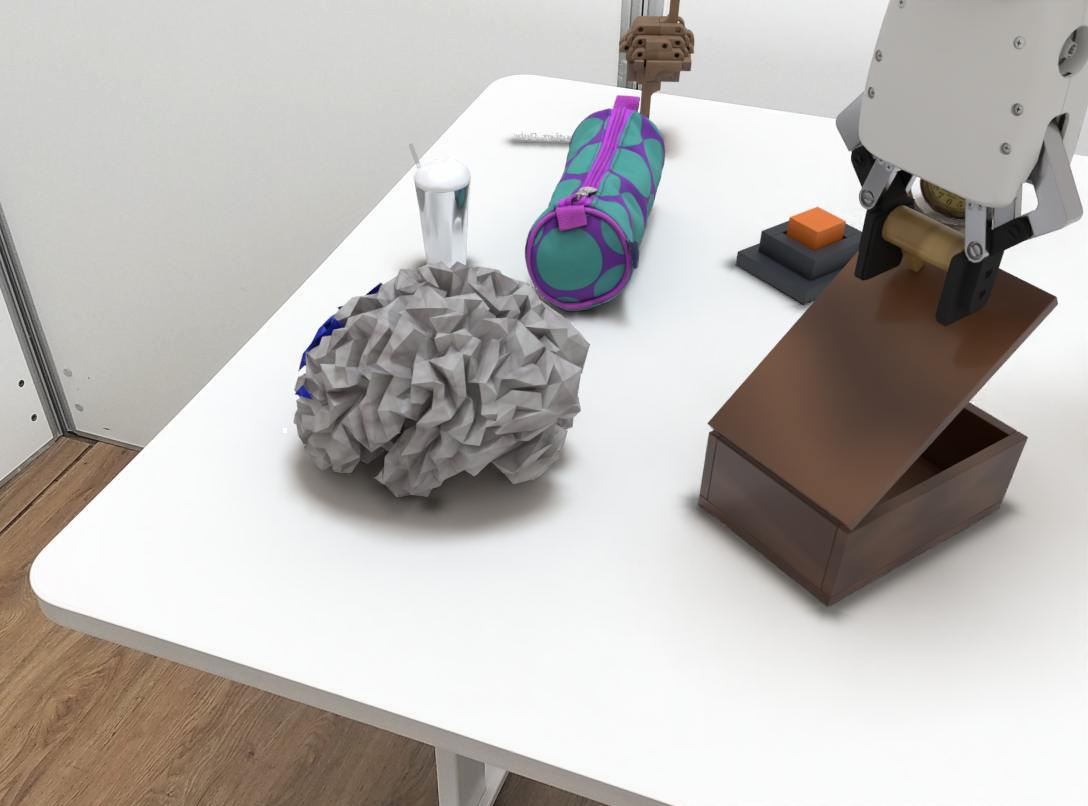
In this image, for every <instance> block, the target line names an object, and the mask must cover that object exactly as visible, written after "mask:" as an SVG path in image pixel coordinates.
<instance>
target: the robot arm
mask: <svg viewBox="0 0 1088 806" xmlns="http://www.w3.org/2000/svg"><path fill="white" fill-rule="evenodd" d="M1087 110H1088V0H889V1H888V4H887V7H886V10H885V13H884V16H883V19H882V21H881V26H880V29H879V33H878V37H877V39H876V42H875V46H874V49H873V54H872V57H871V61H870V65H869V68H868V72H867V77H866V81H865V86H864V90H863V91H862V92H861V93H860V94H859V95H858V96H857V97H856V98H855V99H854V100H853V101H852V102H851V103H849V104H848V105H847V106H846V107H845V108H844V109H843V110H842V111H841V112H839V114H838V115H837V116H836V118H835V126H836V129H837V131H838V133H839V135H840V137H841V139H842V141H843V143H844V145H845V147H846V149H847V151H848V152H851V154H850V162H851V165H852V168H853V170H854V172H855V175H856V177H857V180H858V182H859V185H860V187H861V188H860V190H859V192H858V202H859V204H860V205H861V207H862V208H863V209H865V210H866V211H865V216H864V221H863V225H862V230H861V232H862V234H861V239H860V243H859V249H858V250H859V254H858V258H857V263H856V268H855V272H854V276H855V277H857V278H858V279H860V280H862V281H864V280H868V279H871V278H873V277H875V276H877V275H880V274H882V273H884V272H886V271H889V270H891V269H893V268H895V267H897V266H899V265H900V263H901V261H902V258H903V253H902V251H901V248H899V247H897V246H895V245H893V244H891V243H890V242H888V241H886V240H884V239H883V237H882V227H883V224H884V222H885V220H886V218H887V217H888V215H889V214H890V213H891V212H892V211H893V210H894V209H895V208H896V207H898V206H901V205H905V206H907V207H909V208H911V209H913V210H914V209H915V206H914V202H916V198H914V197H913V198H911V197H909V196H907V193H908V192H909V191H910V189H911V190H912V187H913V185H914V184H915V181H916V180H917V178H918V179H920V178H921V179H923V180H925V181H927V182H930V183H932V184H934V185H936V186H938V187H941V188H943V189H945V190H947V191H949V192H952V193H954V194H956V195H958V196H960V197H963V198H965V220H964V225H965V247H964V250H965V251H962V252H960V253H958V254H956V255H954V256H953V257H952V259H951V261H950V265H949V268H948V272H947V275H946V279H945V283H944V286H943V290H942V293H941V297H940V300H939V304H938V308H937V311H936V315H935V318H937V319H936V321H937V322H938V323H940V324H942V325H944V326H948V325H950V324H952V323H954V322H956V321H958V320H960V319H962V318H964V317H966V316H968V315H971V314H973V313H975V312H977V311H978V310H980V309H981V308H983V307H984V306H985V304H986V303H987V302H988V300H989V298H990V295H991V292H992V289H993V285H994V282H995V279H996V276H997V273H998V270H999V268H1000V267H1001V266H1000V265H1001V263H1002V260H1003V257H1004V253H1005V251H1006V250H1009V249H1011V248H1013V247H1015V246H1017V245H1019V244H1021V243H1024V242H1027V241H1029V240H1032V239H1036V238H1038V237H1041V236H1044V235H1047V234H1050V233H1053V232H1056V231H1059V230H1062V229H1065V228H1066V227H1068V226H1071V225H1073V224H1075V223H1077V222H1079V221H1080V220H1081V219H1082V218H1083V215H1084V208H1083V204H1082V201H1081V197H1080V194H1079V191H1078V188H1077V184H1076V182H1075V177H1074V174H1073V171H1072V169H1071V168H1072V167H1071V163H1072V161H1073V158H1074V155H1075V152H1076V149H1077V145H1078V142H1079V138H1080V136H1081V132H1082V128H1083V125H1084V122H1085V121H1084V120H1085V117H1086V115H1087V114H1086V113H1087ZM1025 183H1026V184H1029V185H1031V186H1033V189H1034V192H1035V195H1036V199H1037V200H1036V201H1037V206H1036V208H1035V209H1033V210H1031V211H1028V212H1026V213H1024V214H1022V205H1023V204H1022V203H1023V202H1022V200H1023V184H1025ZM993 208H994V219H993V220H992V213H993Z"/></svg>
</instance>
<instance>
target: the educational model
mask: <svg viewBox="0 0 1088 806" xmlns="http://www.w3.org/2000/svg"><path fill="white" fill-rule="evenodd" d="M417 273H418V274H417ZM417 273H416V272H415V271H413V270H411V269H410V268H400V269H399V270H398V273H397V275H396V276H394V277H392V278H391V279H389V280H388V281H386V282H384V283H383V282H379V283H378V284H377V285H375V286H374V287H372V288H371V289H370V290H369V291H368V292H367V293H366V294H364V295H357V296H351V298H350V299H348V301H346V303H344V305H341V306H337V309H338V310H337V311H336V312H335V313H334V314H332V315H331V316H329V317H328V318H327V320H325V322H323V323H322V324H321V326H319V328H318V329H317V331H316V333H315V334H314V337H313V338H312V341H311V342H310V344H308V346H307V348H306V349H305V350H304V352H302V355H301V359H300V363H299V366H298V370H297V372H300V371H301V370H302V369H303V368H304V367H305V373H303V374H301V375H299V376H298V377H297V379H296V382H295V386H294V392H295V393H294V395H295V396H298V397H299V398H297V399H296V401H295V402H296V407H297V409H296V411H295V413H294V416H293V421H292V423H293V424H294V425H295V426H296V431H297V436H298V437H299V439H300V441H301V442H302V444H303V445H304V446H303V448H304V450H305V452H306V454H307V455H308V456H310V457H311V461H312V463H313V465H314V466H315V467H317V468H318V469H320V470H321V471H324V470H326V469H329V468H331V467H332V472H334V473H335V472H336V473H340V474H352V473H353V471H354V470H355V469H356V467H357V465H358V464H359V462H360V461H362V462H364V463H366V464H367V465H368V464H369V463H371V462H372V461H374V459H375V458H377V457H378V456H379V455H381V453H383V452H384V451H385V450H386V451H388V452H387V453H386V455H385V456H384V462H383V463H384V464H383V467H382V469H381V470H380V471H379V473H378V474H377V475H376V476H374V477H373V479H374V480H376V481H378V482H379V483H380V484H382V485H385V486H386V487H387V489H388V490H389V491H390V492H391V493H392V494H393V495H394V496H395V497H396V498H402V497H408V496H417V497H426V498H429V496H430V494H431V491H432V490H433V489H435V488H438V487H441V486H442V484H443V482H444V481H445V480H447V479H450V478H451V477H453V476H456V475H458V474H460V473H462V472H464V471H465V472H466V473H468V474H470V475H472V476H473V477H475V476H477V475H478V474H479V473H480V472H481V471H482V470H483V469H484V468H485V467H487V466H488V465H489V464H490V463H491V464H493V465H495V466H496V467H497V468H498V469H499V470H500V471H501V472H502V474H503V475H504V476H505V477H506V478H507V479H508V480H509V481H510V482H511V483H512V484H513V485H516V484H520V483H523V482H527V481H534V480H536V479H537V478H539V477H540V476H541V475H542V474H543V473H545V472H546V471H547V470H549V468H551V466H552V464H553V463H554V462H555V461H557V460H558V459H559V453H558V451H560V450H563V448H564V446H565V442H566V439H567V435H568V431H569V429H571V428H573V427H574V418H575V417H576V416H577V415H578V414H580V412H581V411H582V408H581V404H580V403H581V402H580V397H579V390H580V382H581V376H582V374H583V373H584V367H585V364H586V360H587V357H588V353H589V350H590V346H591V343H590V342H589V340H587V339H586V338H585V337H584V336H583V335H582V333H581V332H580V330H578V329H577V328H576V327H575V326H574V324H572V322H571V321H569V320H568V319H567V318H565V316H563V315H562V314H561V313H559V312H557V310H555V309H553V308H552V307H551V306H549V305H548V304H546V303H545V302H544V301H543V300H541V299H540V297H539V296H538V294H537V292H536V291H535V289H534V287H532V286H531V285H530V284H529V282H526V281H522V280H519V279H518V280H517V279H515V278H511V277H509V276H507V275H504V274H503V273H502V271H501V270H500V269H496V268H490V267H484V266H475V267H470V266H469V265H467V264H466V265H464V264H462V263H460V262H458V261H457V262H456V263H455V264H454V265H453V266H452V267H451V268H448V267H447V266H446V265H445V264H444V263H443V262H442V261H440V262H438V263H435V264H433V265H432V264H431V263H430V264H425V265H422V266H420V267H417Z"/></svg>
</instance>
